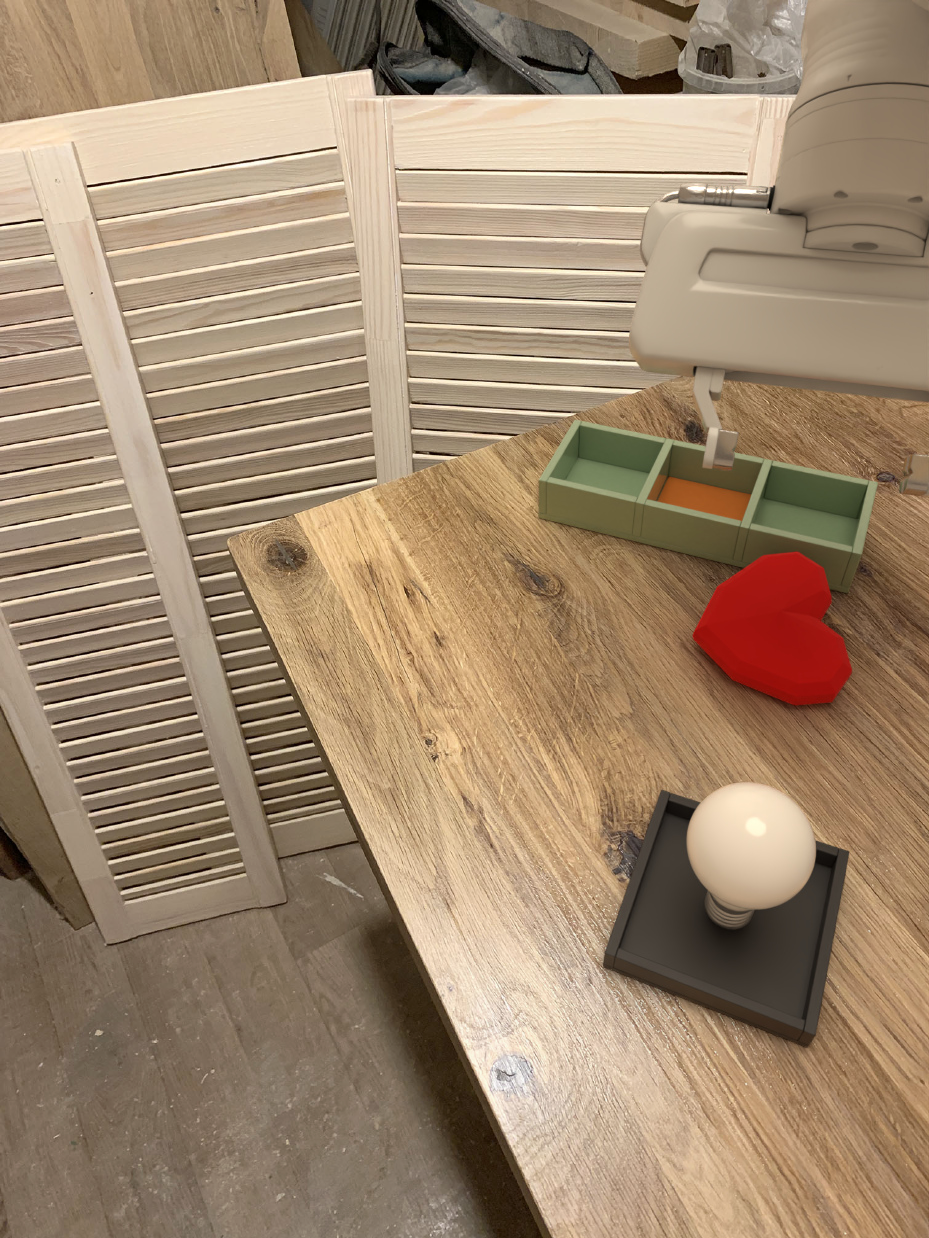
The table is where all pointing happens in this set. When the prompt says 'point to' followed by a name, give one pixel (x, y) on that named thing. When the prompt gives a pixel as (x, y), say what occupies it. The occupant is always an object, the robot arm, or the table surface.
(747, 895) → the lightbulb
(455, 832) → the table surface
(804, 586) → the heart
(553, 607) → the table surface
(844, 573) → the green compartment box
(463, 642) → the table surface
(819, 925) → the tray
